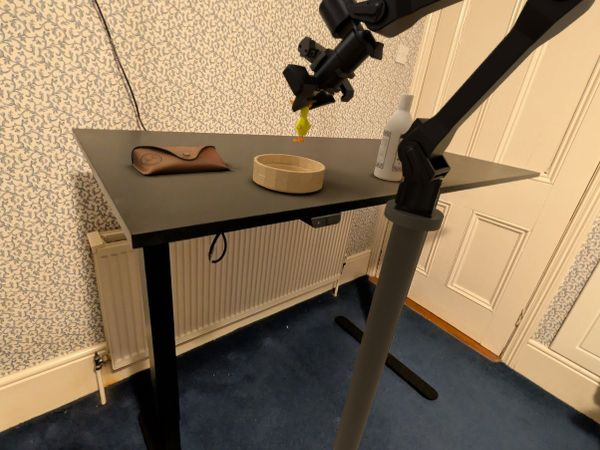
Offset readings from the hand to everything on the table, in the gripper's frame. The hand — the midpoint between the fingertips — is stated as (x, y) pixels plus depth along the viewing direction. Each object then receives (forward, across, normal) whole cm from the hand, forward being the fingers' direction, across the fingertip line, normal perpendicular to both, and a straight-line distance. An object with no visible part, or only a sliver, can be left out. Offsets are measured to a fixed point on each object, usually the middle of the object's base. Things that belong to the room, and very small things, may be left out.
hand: (297, 110), depth 73 cm
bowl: (+4, +10, +15) cm, 19 cm away
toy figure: (+4, 0, +6) cm, 7 cm away
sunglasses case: (+16, +23, +3) cm, 28 cm away
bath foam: (-2, -19, +21) cm, 29 cm away
